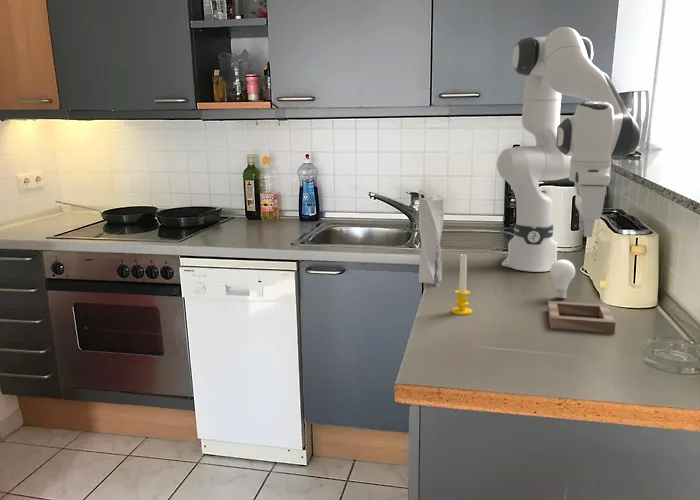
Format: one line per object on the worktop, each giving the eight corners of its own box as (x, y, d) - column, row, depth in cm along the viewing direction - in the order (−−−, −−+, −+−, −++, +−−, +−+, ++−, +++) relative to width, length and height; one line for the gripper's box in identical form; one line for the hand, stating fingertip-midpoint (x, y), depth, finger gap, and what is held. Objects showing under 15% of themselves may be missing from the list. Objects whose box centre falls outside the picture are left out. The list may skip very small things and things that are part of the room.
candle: (474, 314, 151) (476, 254, 148) (454, 315, 151) (455, 255, 148) (469, 308, 156) (471, 250, 153) (449, 309, 156) (450, 250, 153)
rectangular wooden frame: (547, 310, 154) (548, 300, 154) (605, 314, 151) (606, 304, 150) (550, 328, 141) (551, 318, 140) (614, 332, 137) (615, 322, 137)
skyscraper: (411, 285, 179) (412, 191, 173) (421, 279, 186) (422, 188, 180) (438, 288, 175) (440, 193, 169) (447, 282, 182) (449, 189, 176)
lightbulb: (553, 294, 168) (556, 256, 166) (576, 298, 164) (579, 259, 162) (545, 299, 163) (547, 260, 161) (568, 303, 159) (571, 263, 157)
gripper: (571, 169, 149) (567, 224, 152) (579, 177, 130) (575, 240, 133) (598, 169, 147) (594, 225, 150) (611, 178, 128) (605, 241, 131)
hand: (585, 232), depth 141 cm, fingers open, 8 cm apart
